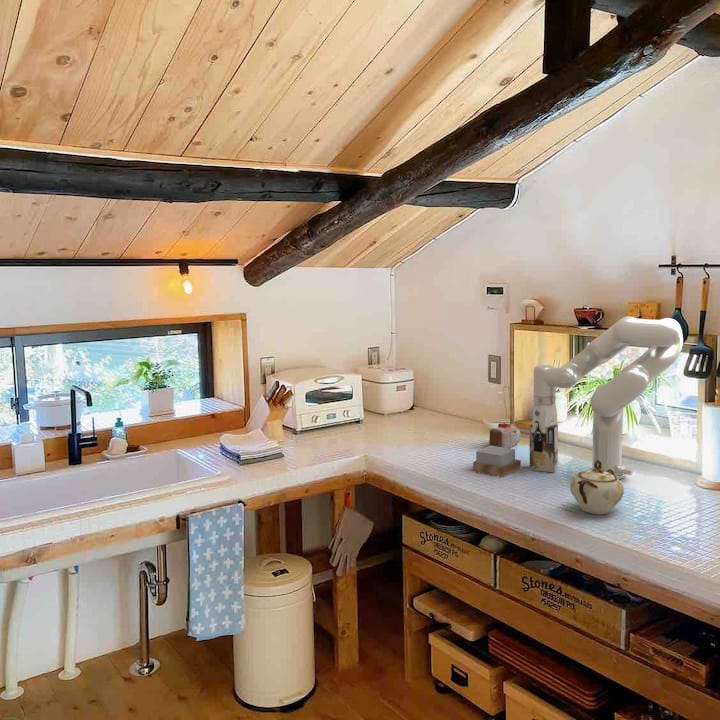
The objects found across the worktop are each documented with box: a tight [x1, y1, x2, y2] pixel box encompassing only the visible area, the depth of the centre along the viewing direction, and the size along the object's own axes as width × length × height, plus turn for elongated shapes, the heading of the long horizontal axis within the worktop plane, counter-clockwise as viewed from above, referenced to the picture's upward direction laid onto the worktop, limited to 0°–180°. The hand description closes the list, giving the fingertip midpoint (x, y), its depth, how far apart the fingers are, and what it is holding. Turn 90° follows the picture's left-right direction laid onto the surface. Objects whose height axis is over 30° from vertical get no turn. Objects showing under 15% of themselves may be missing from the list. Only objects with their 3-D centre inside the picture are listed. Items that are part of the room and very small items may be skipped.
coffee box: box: [528, 423, 559, 473], centre depth 252 cm, size 9×6×16 cm
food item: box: [488, 422, 522, 449], centre depth 285 cm, size 14×8×10 cm, turn 138°
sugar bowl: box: [569, 460, 625, 515], centre depth 209 cm, size 20×15×15 cm
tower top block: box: [475, 445, 516, 467], centre depth 252 cm, size 10×10×4 cm
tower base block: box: [472, 458, 522, 478], centre depth 252 cm, size 12×12×4 cm
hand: (543, 449), depth 252 cm, fingers closed on coffee box, 7 cm apart
